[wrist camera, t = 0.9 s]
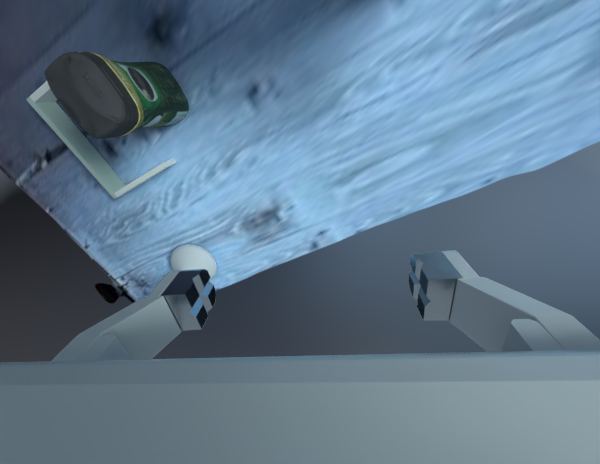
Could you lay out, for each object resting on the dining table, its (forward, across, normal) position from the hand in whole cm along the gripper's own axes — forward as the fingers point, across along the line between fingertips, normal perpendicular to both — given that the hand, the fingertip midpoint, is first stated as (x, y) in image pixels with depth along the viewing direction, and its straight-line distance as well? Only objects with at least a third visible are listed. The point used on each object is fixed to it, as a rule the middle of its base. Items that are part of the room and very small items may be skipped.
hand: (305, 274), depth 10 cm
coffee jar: (+42, +27, -10) cm, 51 cm away
